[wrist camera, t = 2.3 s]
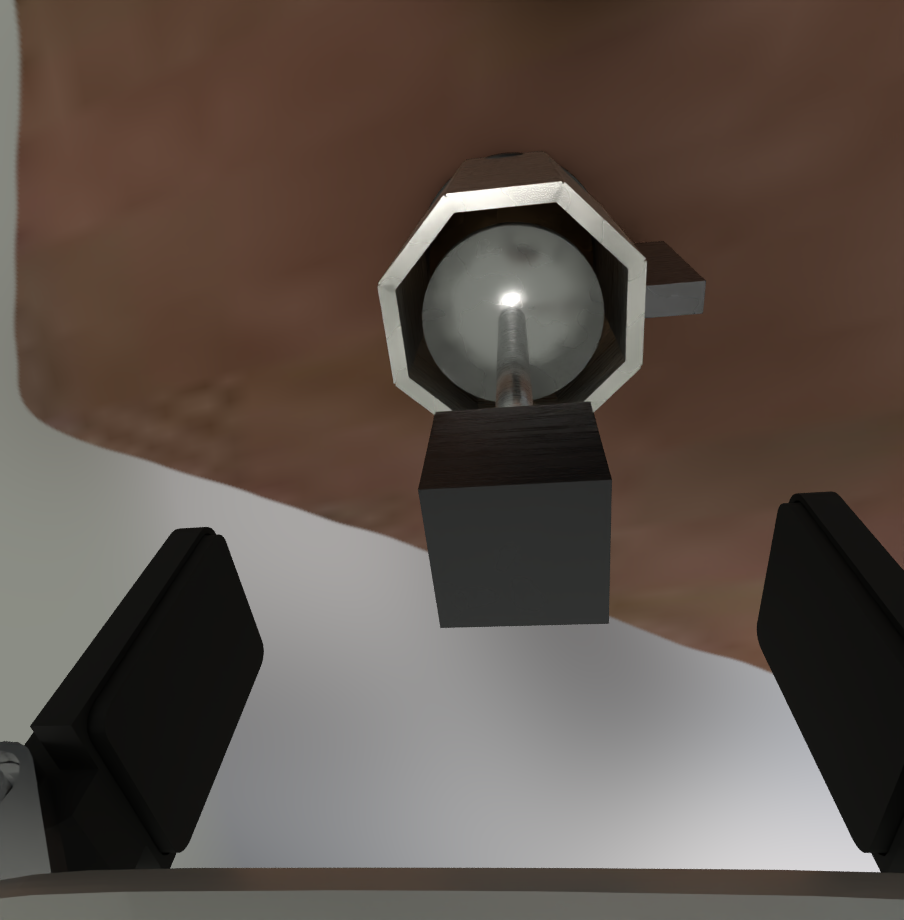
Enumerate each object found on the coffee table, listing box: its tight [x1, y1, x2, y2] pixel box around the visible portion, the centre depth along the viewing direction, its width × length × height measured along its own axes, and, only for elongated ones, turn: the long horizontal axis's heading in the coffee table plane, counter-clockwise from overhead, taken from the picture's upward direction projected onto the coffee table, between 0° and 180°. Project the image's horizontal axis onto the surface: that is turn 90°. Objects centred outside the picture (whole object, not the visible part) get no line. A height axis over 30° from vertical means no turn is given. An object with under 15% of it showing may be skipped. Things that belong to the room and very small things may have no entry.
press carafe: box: [378, 151, 706, 415], centre depth 27 cm, size 12×9×12 cm
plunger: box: [418, 222, 612, 628], centre depth 17 cm, size 7×7×14 cm
